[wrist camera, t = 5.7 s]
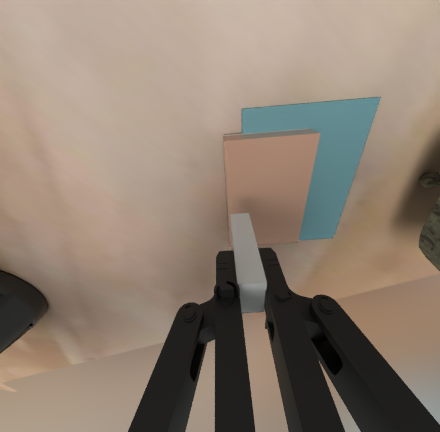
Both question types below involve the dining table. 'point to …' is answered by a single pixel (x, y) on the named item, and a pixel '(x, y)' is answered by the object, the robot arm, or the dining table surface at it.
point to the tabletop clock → (431, 224)
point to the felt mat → (322, 152)
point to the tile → (270, 180)
